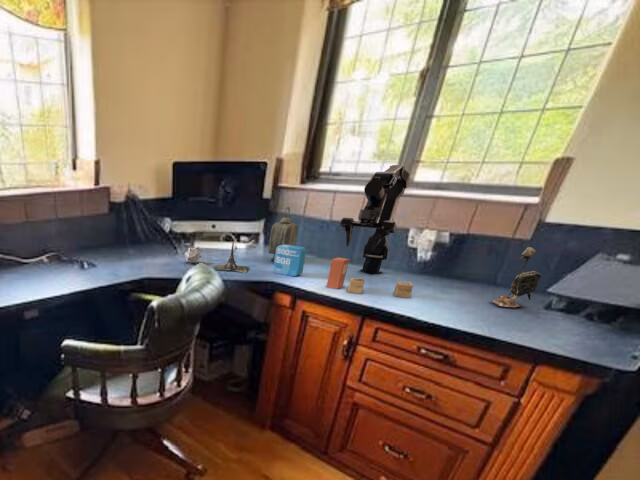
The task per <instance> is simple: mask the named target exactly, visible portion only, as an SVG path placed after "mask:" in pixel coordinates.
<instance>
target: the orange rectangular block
mask: <svg viewBox="0 0 640 480" xmlns="http://www.w3.org/2000/svg"><path fill="white" fill-rule="evenodd" d="M349 262H350V258H345V257H335V258H332V259H331V263H330V268H329V273H328V278H327V282H326V287H327V288H331V289H335V290H338V289H341V288H343V287H344V285H345V280H346V275H347V271H348V266H349Z"/></svg>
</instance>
